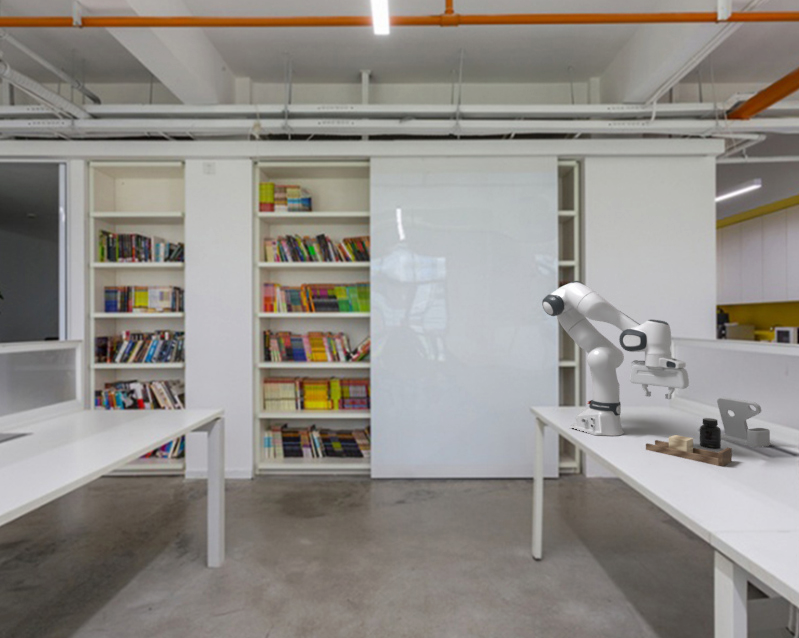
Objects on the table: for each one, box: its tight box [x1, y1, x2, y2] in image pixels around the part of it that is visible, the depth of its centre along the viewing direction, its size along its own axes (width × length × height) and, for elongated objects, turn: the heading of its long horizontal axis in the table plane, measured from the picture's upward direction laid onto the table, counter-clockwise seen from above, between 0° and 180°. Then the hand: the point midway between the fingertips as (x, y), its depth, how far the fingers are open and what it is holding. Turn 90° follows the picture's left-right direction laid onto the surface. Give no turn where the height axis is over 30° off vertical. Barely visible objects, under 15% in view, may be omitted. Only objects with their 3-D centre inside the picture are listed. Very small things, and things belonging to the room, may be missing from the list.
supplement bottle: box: [699, 417, 722, 450], centre depth 177 cm, size 7×7×12 cm
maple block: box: [668, 434, 694, 453], centre depth 167 cm, size 6×6×6 cm
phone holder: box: [716, 396, 772, 448], centre depth 189 cm, size 17×10×18 cm, turn 20°
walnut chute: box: [645, 439, 733, 467], centre depth 165 cm, size 25×9×6 cm, turn 37°
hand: (658, 397), depth 173 cm, fingers open, 6 cm apart
